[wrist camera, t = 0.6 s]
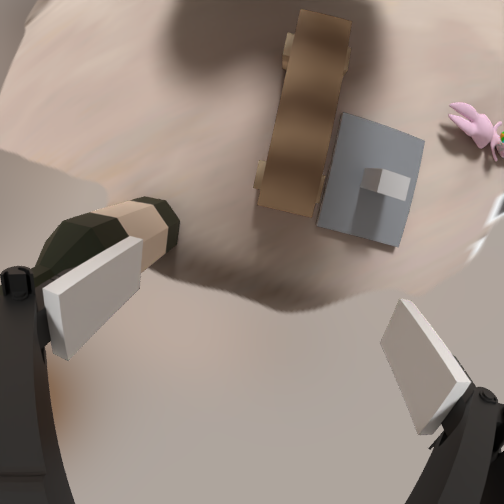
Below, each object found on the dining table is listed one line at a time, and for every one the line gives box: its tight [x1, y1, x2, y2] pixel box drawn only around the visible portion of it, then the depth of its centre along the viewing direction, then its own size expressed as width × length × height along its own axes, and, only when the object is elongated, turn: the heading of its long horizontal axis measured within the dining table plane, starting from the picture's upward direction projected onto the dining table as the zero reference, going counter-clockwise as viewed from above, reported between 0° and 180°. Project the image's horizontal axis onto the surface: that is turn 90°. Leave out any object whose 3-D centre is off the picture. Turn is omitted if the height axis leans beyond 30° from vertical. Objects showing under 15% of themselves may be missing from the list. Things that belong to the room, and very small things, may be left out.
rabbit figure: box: [448, 102, 504, 161], centre depth 27 cm, size 6×6×15 cm
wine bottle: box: [0, 197, 180, 295], centre depth 24 cm, size 8×8×30 cm
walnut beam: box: [257, 9, 352, 218], centre depth 26 cm, size 20×5×4 cm, turn 168°
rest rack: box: [253, 33, 351, 203], centre depth 30 cm, size 18×7×5 cm, turn 168°
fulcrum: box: [316, 112, 425, 247], centre depth 30 cm, size 14×11×8 cm
